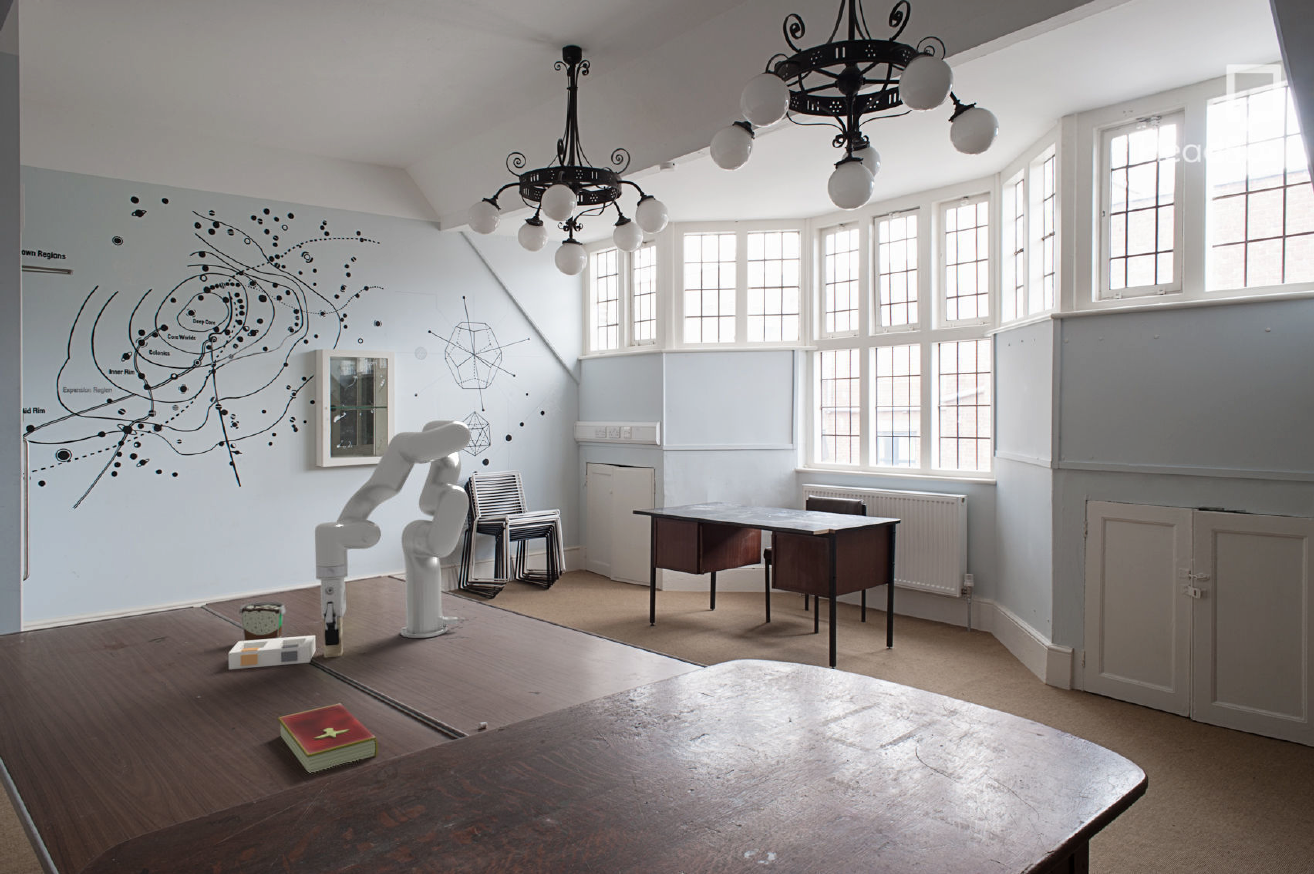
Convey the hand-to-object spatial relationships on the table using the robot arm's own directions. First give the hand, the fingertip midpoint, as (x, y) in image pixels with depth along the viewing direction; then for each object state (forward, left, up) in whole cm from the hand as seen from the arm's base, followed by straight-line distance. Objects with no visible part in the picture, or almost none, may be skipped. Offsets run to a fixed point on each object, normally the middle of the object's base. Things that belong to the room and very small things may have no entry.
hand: (333, 641), depth 199 cm
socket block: (+14, 0, -3) cm, 14 cm away
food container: (+19, -19, -4) cm, 27 cm away
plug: (0, 0, -3) cm, 3 cm away
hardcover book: (-6, +58, -4) cm, 59 cm away
